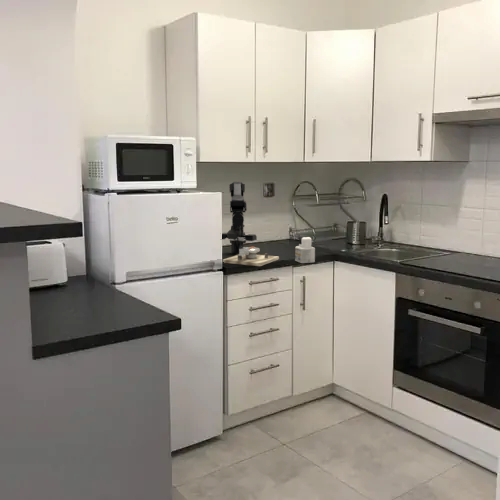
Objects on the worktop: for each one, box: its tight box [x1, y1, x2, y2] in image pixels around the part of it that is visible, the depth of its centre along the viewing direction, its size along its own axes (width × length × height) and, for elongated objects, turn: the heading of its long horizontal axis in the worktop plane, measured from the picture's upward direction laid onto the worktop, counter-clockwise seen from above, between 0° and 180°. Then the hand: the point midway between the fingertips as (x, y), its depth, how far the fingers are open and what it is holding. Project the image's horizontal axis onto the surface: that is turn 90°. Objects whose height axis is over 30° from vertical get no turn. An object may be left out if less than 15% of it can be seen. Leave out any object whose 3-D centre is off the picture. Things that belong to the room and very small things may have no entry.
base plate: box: [222, 252, 280, 267], centre depth 291 cm, size 22×22×5 cm
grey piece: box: [238, 246, 261, 256], centre depth 287 cm, size 16×9×4 cm, turn 154°
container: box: [294, 236, 316, 264], centre depth 288 cm, size 8×8×13 cm
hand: (237, 253), depth 284 cm, fingers closed
